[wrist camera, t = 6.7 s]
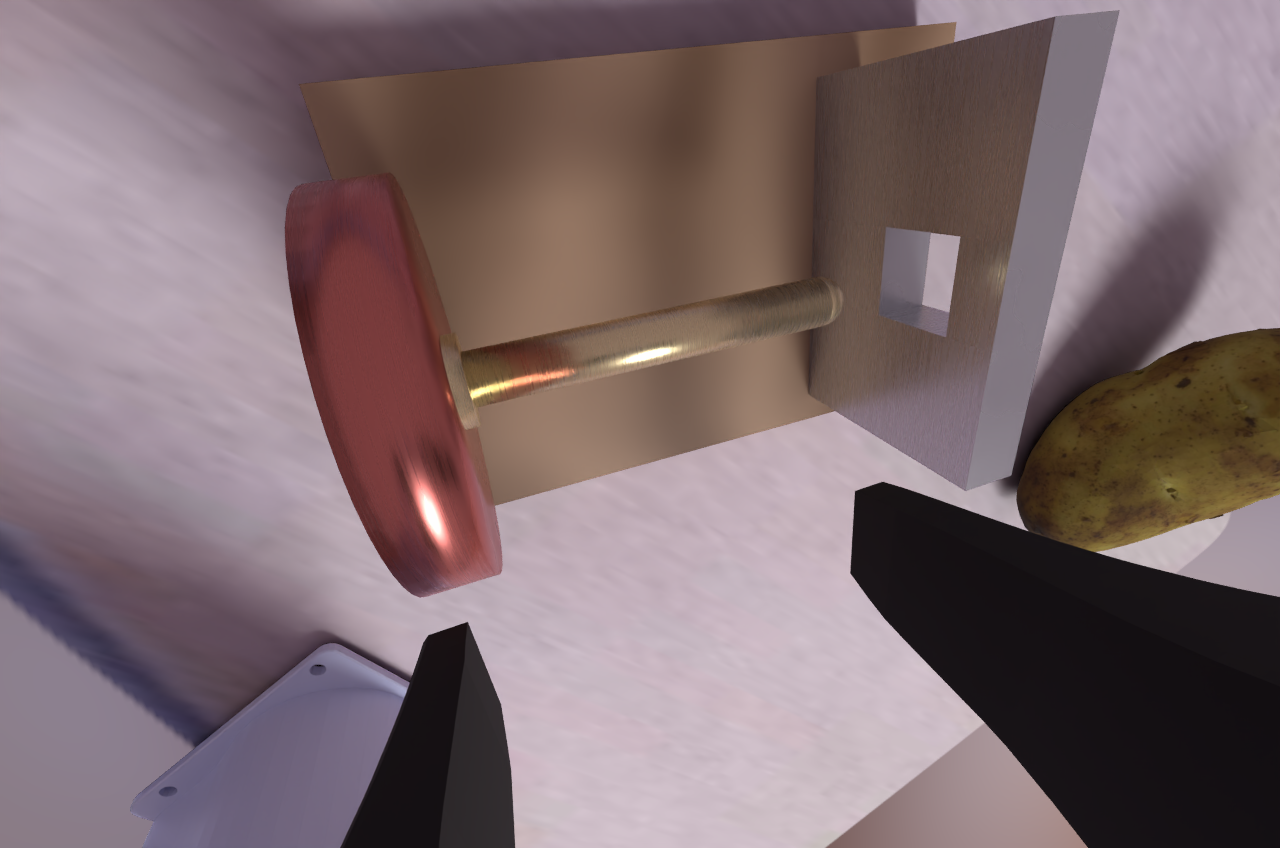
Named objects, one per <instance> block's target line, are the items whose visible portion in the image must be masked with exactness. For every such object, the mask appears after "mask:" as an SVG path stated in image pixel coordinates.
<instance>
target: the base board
mask: <svg viewBox="0 0 1280 848" xmlns="http://www.w3.org/2000/svg"><path fill="white" fill-rule="evenodd" d="M955 29H956V22H953V23H942V24H931V25H921V26H910V27H899V28H889V29H878V30H868V31H857V32H846V33H836V34H825V35H815V36H804V37H793V38H783V39H772V40H761V41H751V42H740V43H730V44H719V45H708V46H698V47H687V48H676V49H666V50H655V51H645V52H634V53H623V54H613V55H602V56H591V57H581V58H570V59H560V60H549V61H538V62H528V63H517V64H507V65H496V66H485V67H475V68H464V69H453V70H443V71H432V72H422V73H411V74H400V75H390V76H379V77H368V78H358V79H347V80H337V81H326V82H315V83H305V84H299V85H300V88H301V91H302V94H303V97H304V100H305V103H306V105H307V108H308V111H309V114H310V117H311V120H312V123H313V125H314V128H315V131H316V134H317V137H318V140H319V143H320V145H321V148H322V151H323V154H324V157H325V160H326V163H327V165H328V168H329V171H330V174H331V177H332V180H335V179H343V178H351V177H358V176H366V175H373V174H381V173H388V172H390V173H391V174H393V175H394V177H395V178H396V180H397V181H398V183H399V185H400V187H401V189H402V191H403V193H404V195H405V198H406V200H407V202H408V205H409V207H410V210H411V212H412V215H413V217H414V220H415V222H416V225H417V228H418V230H419V233H420V236H421V239H422V242H423V244H424V247H425V250H426V253H427V256H428V259H429V262H430V265H431V268H432V271H433V274H434V277H435V280H436V283H437V286H438V290H439V293H440V296H441V299H442V302H443V306H444V309H445V312H446V316H447V319H448V322H449V326H450V329H451V332H452V333H456V334H457V336H458V339H459V342H460V345H461V348H462V351H466V350H471V349H476V348H480V347H485V346H490V345H495V344H499V343H504V342H509V341H514V340H518V339H523V338H528V337H533V336H537V335H542V334H547V333H552V332H556V331H561V330H566V329H571V328H575V327H580V326H585V325H590V324H594V323H599V322H604V321H609V320H613V319H618V318H623V317H628V316H632V315H637V314H642V313H647V312H651V311H656V310H661V309H665V308H670V307H675V306H680V305H684V304H689V303H694V302H699V301H703V300H708V299H713V298H718V297H722V296H727V295H732V294H737V293H741V292H746V291H751V290H756V289H760V288H765V287H770V286H775V285H779V284H784V283H789V282H794V281H798V280H803V279H808V278H811V277H812V238H813V199H814V159H815V120H816V81H817V77H821V76H825V75H829V74H833V73H836V72H840V71H844V70H848V69H852V68H856V67H860V66H864V65H868V64H872V63H876V62H879V61H883V60H887V59H891V58H895V57H899V56H903V55H907V54H911V53H915V52H919V51H923V50H926V49H930V48H934V47H938V46H942V45H946V44H950V43H954V37H955ZM930 235H931V234H930ZM927 260H928V259H927ZM926 268H927V267H926ZM922 301H923V300H922ZM809 356H810V329H809V330H804V331H800V332H796V333H792V334H787V335H783V336H779V337H775V338H770V339H766V340H762V341H758V342H753V343H749V344H745V345H741V346H736V347H732V348H728V349H724V350H719V351H715V352H711V353H707V354H702V355H698V356H694V357H690V358H685V359H681V360H677V361H673V362H668V363H664V364H660V365H656V366H652V367H647V368H643V369H639V370H635V371H630V372H626V373H622V374H618V375H613V376H609V377H605V378H601V379H596V380H592V381H588V382H584V383H579V384H575V385H571V386H567V387H562V388H558V389H554V390H550V391H545V392H541V393H537V394H533V395H528V396H524V397H520V398H516V399H511V400H507V401H503V402H499V403H494V404H490V405H486V406H482V407H478V411H479V416H480V422H481V426H480V427H477V429H478V433H479V437H480V441H481V445H482V450H483V454H484V458H485V463H486V467H487V472H488V476H489V481H490V485H491V490H492V495H493V500H494V505H499V504H503V503H506V502H510V501H513V500H517V499H521V498H524V497H528V496H531V495H535V494H539V493H542V492H546V491H549V490H553V489H557V488H560V487H564V486H567V485H571V484H575V483H578V482H582V481H585V480H589V479H592V478H596V477H600V476H603V475H607V474H610V473H614V472H618V471H621V470H625V469H628V468H632V467H636V466H639V465H643V464H646V463H650V462H654V461H657V460H661V459H664V458H668V457H672V456H675V455H679V454H682V453H686V452H690V451H693V450H697V449H700V448H704V447H707V446H711V445H715V444H718V443H722V442H725V441H729V440H733V439H736V438H740V437H743V436H747V435H751V434H754V433H758V432H761V431H765V430H769V429H772V428H776V427H779V426H783V425H787V424H790V423H794V422H797V421H801V420H805V419H808V418H812V417H815V416H819V415H822V414H826V413H830V412H833V411H834V410H833V409H831V408H829V407H828V406H826V405H825V404H823V403H821V402H820V401H818V400H816V399H815V398H813V397H812V396H810V395H809Z"/></svg>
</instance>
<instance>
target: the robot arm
mask: <svg viewBox="0 0 1280 848" xmlns="http://www.w3.org/2000/svg"><path fill="white" fill-rule="evenodd" d="M850 573H851V575H852V576H853V577H854V579H855V580H856V582H857V583H858V584H859V586H860V587H861V588H862V590H863V591H864V593H865V594H866V595H867V597H868V598H869V599H870V601H871V602H872V603H873V604H874V606H875V607H876V608H877V610H878V611H879V612H880V613H881V615H882V616H883V617H884V619H885V620H886V621H887V622H888V623H889V624H890V625H891V626H892V627H893V628H894V629H895V630H896V631H897V632H898V633H899V635H900V636H901V637H902V638H903V639H904V640H905V641H906V642H907V643H908V644H909V645H910V646H911V647H912V648H913V649H914V650H915V651H916V652H917V653H918V654H919V655H920V656H921V657H922V659H923V660H924V661H925V662H926V663H927V664H928V665H929V666H930V667H931V668H932V669H933V670H934V671H935V672H936V673H937V674H938V675H939V676H940V677H941V678H942V679H943V680H944V681H945V682H946V683H947V684H948V685H949V686H950V687H951V688H952V689H953V690H954V691H955V692H956V693H957V694H958V695H959V696H960V698H961V699H962V700H963V701H964V702H965V703H966V704H967V705H968V706H969V707H970V708H971V709H972V710H973V711H974V712H975V713H976V714H977V715H978V716H979V717H980V718H981V719H982V720H983V721H984V722H985V723H986V724H987V725H988V727H989V728H990V729H991V730H992V731H993V732H994V733H995V734H996V735H997V736H998V737H999V739H1000V740H1001V741H1002V742H1003V743H1004V744H1005V745H1006V746H1007V748H1008V749H1009V750H1010V751H1011V752H1012V754H1013V755H1014V756H1015V757H1016V758H1017V760H1018V761H1019V762H1020V763H1021V765H1022V766H1023V767H1024V768H1025V769H1026V771H1027V772H1028V773H1029V774H1030V776H1031V777H1032V778H1033V779H1034V780H1035V782H1036V783H1037V784H1038V785H1039V786H1040V788H1041V789H1042V790H1043V791H1044V792H1045V794H1046V795H1047V796H1048V797H1049V798H1050V799H1051V801H1052V802H1053V803H1054V805H1055V806H1056V807H1057V809H1058V810H1059V811H1060V812H1061V814H1062V815H1063V816H1064V817H1065V819H1066V820H1067V821H1068V823H1069V824H1070V825H1071V826H1072V828H1073V829H1074V830H1075V831H1076V833H1077V834H1078V835H1079V837H1080V838H1081V839H1082V840H1083V842H1084V843H1085V844H1086V846H1087V847H1088V848H1280V597H1277V596H1272V595H1267V594H1261V593H1256V592H1251V591H1246V590H1242V589H1237V588H1233V587H1228V586H1223V585H1219V584H1214V583H1210V582H1206V581H1201V580H1197V579H1193V578H1189V577H1185V576H1181V575H1177V574H1173V573H1169V572H1165V571H1161V570H1158V569H1154V568H1150V567H1146V566H1142V565H1138V564H1134V563H1130V562H1127V561H1123V560H1120V559H1116V558H1112V557H1109V556H1106V555H1102V554H1099V553H1096V552H1092V551H1089V550H1086V549H1083V548H1079V547H1076V546H1073V545H1069V544H1066V543H1063V542H1059V541H1056V540H1053V539H1050V538H1047V537H1044V536H1041V535H1038V534H1035V533H1032V532H1029V531H1026V530H1023V529H1020V528H1017V527H1014V526H1011V525H1008V524H1005V523H1002V522H999V521H996V520H994V519H991V518H988V517H985V516H982V515H979V514H976V513H974V512H971V511H968V510H965V509H962V508H960V507H957V506H954V505H951V504H948V503H945V502H943V501H940V500H937V499H934V498H931V497H928V496H925V495H923V494H920V493H917V492H914V491H911V490H908V489H905V488H902V487H898V486H895V485H892V484H888V483H885V482H881V483H878V484H875V485H872V486H869V487H866V488H863V489H860V490H857V491H855V502H854V519H853V537H852V554H851V572H850ZM318 664H320V665H324V666H322V667H317V666H314V665H318ZM130 811H131V813H132V814H133V815H135V816H137V817H141V818H144V819H147V820H151V821H154V822H153V825H152V827H151V829H150V831H149V833H148V836H147V838H146V840H145V842H144V845H143V847H142V848H515V836H514V816H513V797H512V779H511V766H510V760H509V753H508V746H507V739H506V733H505V727H504V720H503V714H502V708H501V703H500V701H499V698H498V696H497V693H496V691H495V688H494V686H493V684H492V681H491V679H490V676H489V674H488V671H487V669H486V666H485V664H484V661H483V659H482V656H481V654H480V651H479V649H478V646H477V644H476V641H475V639H474V636H473V634H472V631H471V629H470V626H469V624H468V622H466V623H463V624H460V625H457V626H454V627H451V628H449V629H446V630H443V631H440V632H437V633H434V634H431V635H428V637H427V638H426V640H425V641H424V643H423V646H422V649H421V652H420V655H419V658H418V661H417V664H416V667H415V669H414V672H413V675H412V678H411V681H410V683H409V682H408V681H406V680H404V679H402V678H400V677H398V676H397V675H395V674H393V673H391V672H389V671H387V670H386V669H384V668H382V667H380V666H378V665H376V664H375V663H373V662H371V661H369V660H367V659H365V658H364V657H362V656H360V655H358V654H356V653H354V652H353V651H351V650H349V649H347V648H345V647H343V646H342V645H339V644H336V643H329V644H324V645H322V646H320V647H319V648H317V649H316V650H315V651H314V652H313V653H311V654H310V655H309V656H308V657H306V658H305V659H304V660H303V661H301V662H300V663H299V664H298V665H297V666H295V667H294V668H293V669H292V670H290V671H289V672H288V673H287V674H285V675H284V676H283V677H282V678H281V679H279V680H278V681H277V682H276V683H274V684H273V685H272V686H271V687H269V688H268V689H267V690H266V691H265V692H263V693H262V694H261V695H260V696H258V697H257V698H256V699H255V700H254V701H252V702H251V703H250V704H249V705H247V706H246V707H245V708H244V709H242V710H241V711H240V712H239V713H238V714H236V715H235V716H234V717H233V718H231V719H230V720H229V721H228V722H226V723H225V724H224V725H223V726H222V727H220V728H219V729H218V730H217V731H215V732H214V733H213V734H212V735H210V736H209V737H208V738H207V739H206V740H204V741H203V742H202V743H201V744H199V745H198V746H197V747H196V748H194V749H193V750H192V751H191V752H190V753H188V754H187V755H186V756H185V757H183V758H182V759H181V760H180V761H179V762H177V763H176V764H175V765H174V766H172V767H171V768H170V769H169V770H168V771H166V772H165V773H164V774H163V775H161V776H160V777H159V778H158V779H156V780H155V781H154V782H153V783H151V784H150V785H149V786H148V787H147V788H145V789H144V790H143V791H142V792H140V793H139V794H138V795H137V796H136V797H135V799H134V801H133V803H132V805H131V807H130Z"/></svg>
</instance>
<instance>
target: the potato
mask: <svg viewBox="0 0 1280 848" xmlns="http://www.w3.org/2000/svg"><path fill="white" fill-rule="evenodd" d="M1279 494H1280V328H1273V329H1257V330H1253V331H1246V332H1240V333H1234V334H1229V335H1225V336H1220V337H1216V338H1212V339H1209V340H1206V341H1199V342H1197V341H1196V342H1193V343H1191V344H1188V345H1186V346H1184V347H1181V348H1179V349H1177V350H1175V351H1173V352H1170V353H1168V354H1166V355H1165V356H1163V357H1161V358H1158V359H1157V360H1156V361H1154V362H1153V363H1151V364H1150V365H1148V366H1147V367H1145V368H1143V369H1141V370H1136V371H1133V372H1129V373H1125V374H1122V375H1118V376H1115V377H1112V378H1109V379H1106V380H1104V381H1101V382H1099V383H1097V384H1095V385H1093V386H1092V387H1090V388H1089V389H1087V390H1086V391H1084V392H1083V393H1082V394H1080V395H1079V396H1078V397H1077V398H1075V399H1074V400H1073V401H1072V402H1071V403H1070V404H1068V405H1067V406H1066V407H1065V408H1064V409H1063V410H1062V411H1061V412H1060V413H1059V414H1058V415H1057V416H1056V417H1055V418H1054V419H1053V420H1052V422H1051V423H1050V425H1049V426H1048V427H1047V428H1046V429H1045V431H1044V433H1043V434H1042V436H1041V437H1040V439H1039V441H1038V442H1037V444H1036V445H1035V447H1034V448H1033V449H1032V451H1031V453H1030V456H1029V458H1028V460H1027V462H1026V466H1025V469H1024V472H1023V474H1022V476H1021V479H1020V482H1019V485H1018V490H1017V499H1016V500H1017V506H1018V510H1019V514H1020V517H1021V519H1022V521H1023V524H1024V526H1025V527H1026V529H1027V530H1028V531H1029V532H1032V533H1035V534H1038V535H1041V536H1044V537H1047V538H1050V539H1053V540H1056V541H1059V542H1063V543H1066V544H1069V545H1073V546H1076V547H1079V548H1083V549H1086V550H1089V551H1092V552H1097V551H1104V550H1108V549H1112V548H1116V547H1120V546H1124V545H1128V544H1131V543H1135V542H1138V541H1141V540H1145V539H1148V538H1151V537H1154V536H1157V535H1160V534H1162V533H1165V532H1168V531H1171V530H1173V529H1176V528H1179V527H1182V526H1185V525H1188V524H1191V523H1194V522H1198V521H1202V520H1205V519H1208V518H1209V519H1212V518H1216V517H1220V516H1223V514H1225V513H1228V512H1231V511H1233V510H1237V509H1240V508H1242V507H1245V506H1247V505H1250V504H1252V503H1254V502H1257V501H1259V500H1263V499H1267V498H1270V497H1273V496H1276V495H1279Z"/></svg>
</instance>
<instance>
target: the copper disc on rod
mask: <svg viewBox="0 0 1280 848" xmlns="http://www.w3.org/2000/svg"><path fill="white" fill-rule="evenodd" d="M285 247H286V261H287V270H288V279H289V287H290V292H291V298H292V304H293V310H294V316H295V321H296V326H297V330H298V335H299V339H300V344H301V348H302V353H303V357H304V361H305V364H306V368H307V372H308V375H309V379H310V383H311V387H312V390H313V394H314V397H315V401H316V404H317V407H318V410H319V413H320V416H321V420H322V423H323V426H324V429H325V432H326V435H327V438H328V441H329V444H330V446H331V449H332V452H333V455H334V457H335V460H336V463H337V466H338V468H339V471H340V473H341V476H342V478H343V481H344V483H345V485H346V488H347V490H348V493H349V495H350V497H351V500H352V502H353V505H354V507H355V509H356V511H357V513H358V515H359V517H360V519H361V521H362V523H363V526H364V528H365V530H366V532H367V534H368V536H369V537H370V539H371V541H372V543H373V544H374V546H375V548H376V550H377V552H378V553H379V555H380V557H381V558H382V560H383V561H384V563H385V564H386V566H387V567H388V569H389V570H390V572H391V573H392V575H393V576H394V577H395V578H396V579H397V580H398V582H399V583H400V584H401V585H402V586H403V587H404V588H405V589H406V590H407V591H409V592H410V593H411V594H413V595H415V596H418V597H427V596H430V595H433V594H437V593H440V592H443V591H446V590H450V589H453V588H456V587H459V586H463V585H466V584H469V583H473V582H476V581H479V580H482V579H486V578H489V577H492V576H495V575H499V574H501V572H502V549H501V541H500V534H499V528H498V521H497V516H496V510H495V505H494V500H493V495H492V490H491V485H490V481H489V476H488V472H487V467H486V463H485V458H484V454H483V450H482V445H481V441H480V437H479V433H478V429H477V427H480V426H481V422H480V416H479V411H478V407H482V406H486V405H490V404H494V403H499V402H503V401H507V400H511V399H516V398H520V397H524V396H528V395H533V394H537V393H541V392H545V391H550V390H554V389H558V388H562V387H567V386H571V385H575V384H579V383H584V382H588V381H592V380H596V379H601V378H605V377H609V376H613V375H618V374H622V373H626V372H630V371H635V370H639V369H643V368H647V367H652V366H656V365H660V364H664V363H668V362H673V361H677V360H681V359H685V358H690V357H694V356H698V355H702V354H707V353H711V352H715V351H719V350H724V349H728V348H732V347H736V346H741V345H745V344H749V343H753V342H758V341H762V340H766V339H770V338H775V337H779V336H783V335H787V334H792V333H796V332H800V331H804V330H809V329H813V328H817V327H821V326H825V325H827V324H829V323H831V322H832V321H834V320H835V319H836V318H837V317H838V315H839V314H840V312H841V310H842V307H843V302H844V298H843V293H842V290H841V289H840V287H839V285H838V284H837V283H835V282H834V281H833V280H831V279H829V278H826V277H813V278H808V279H803V280H798V281H794V282H789V283H784V284H779V285H775V286H770V287H765V288H760V289H756V290H751V291H746V292H741V293H737V294H732V295H727V296H722V297H718V298H713V299H708V300H703V301H699V302H694V303H689V304H684V305H680V306H675V307H670V308H665V309H661V310H656V311H651V312H647V313H642V314H637V315H632V316H628V317H623V318H618V319H613V320H609V321H604V322H599V323H594V324H590V325H585V326H580V327H575V328H571V329H566V330H561V331H556V332H552V333H547V334H542V335H537V336H533V337H528V338H523V339H518V340H514V341H509V342H504V343H499V344H495V345H490V346H485V347H480V348H476V349H471V350H466V351H462V348H461V345H460V342H459V339H458V336H457V334H456V333H452V332H451V329H450V326H449V322H448V319H447V316H446V312H445V309H444V306H443V302H442V299H441V296H440V293H439V290H438V286H437V283H436V280H435V277H434V274H433V271H432V268H431V265H430V262H429V259H428V256H427V253H426V250H425V247H424V244H423V242H422V239H421V236H420V233H419V230H418V228H417V225H416V222H415V220H414V217H413V215H412V212H411V210H410V207H409V205H408V202H407V200H406V198H405V195H404V193H403V191H402V189H401V187H400V185H399V183H398V181H397V180H396V178H395V177H394V175H393V174H391V173H390V172H388V173H381V174H373V175H366V176H358V177H351V178H343V179H335V180H328V181H320V182H313V183H305V184H301V185H299V186H296V187H295V188H294V190H293V191H292V193H291V194H290V198H289V201H288V205H287V209H286V221H285Z"/></svg>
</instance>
